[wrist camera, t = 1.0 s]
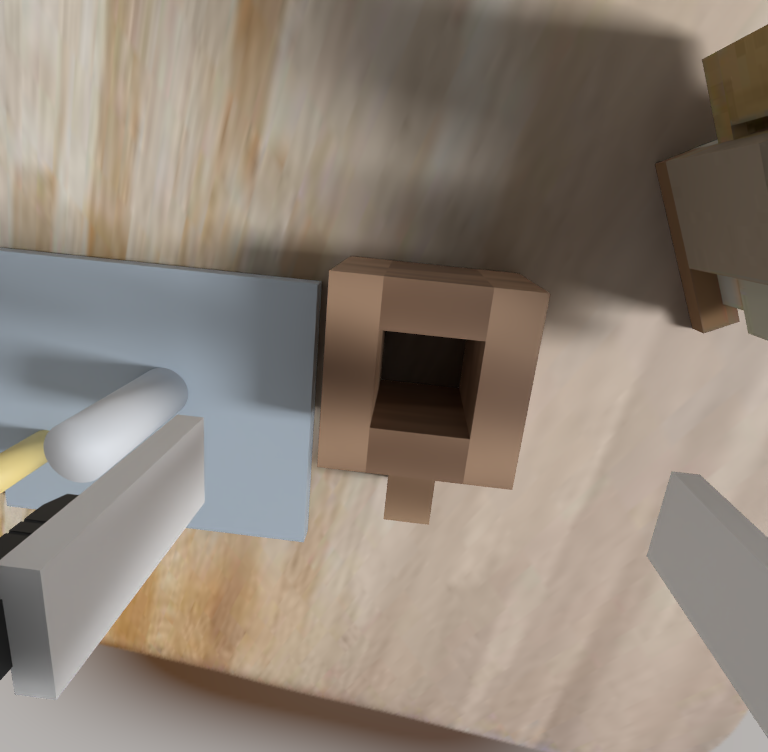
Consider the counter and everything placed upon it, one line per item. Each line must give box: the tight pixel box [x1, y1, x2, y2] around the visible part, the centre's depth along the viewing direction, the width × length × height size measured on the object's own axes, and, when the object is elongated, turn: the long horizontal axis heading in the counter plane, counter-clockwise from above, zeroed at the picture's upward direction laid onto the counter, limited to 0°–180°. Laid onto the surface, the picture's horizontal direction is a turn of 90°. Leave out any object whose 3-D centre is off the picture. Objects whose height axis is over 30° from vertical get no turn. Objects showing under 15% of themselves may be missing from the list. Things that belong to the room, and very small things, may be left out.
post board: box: [0, 247, 322, 542], centre depth 27 cm, size 16×19×9 cm
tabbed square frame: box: [317, 256, 550, 525], centre depth 26 cm, size 13×9×7 cm
